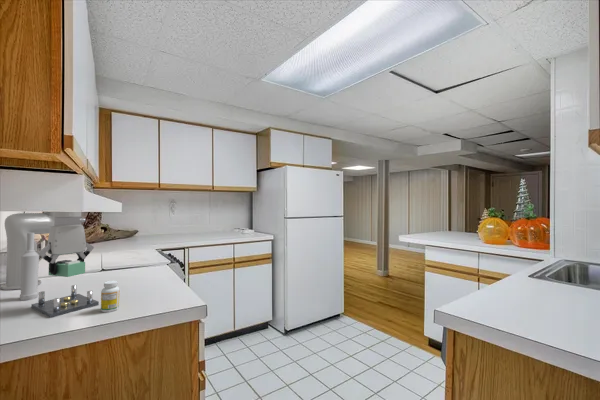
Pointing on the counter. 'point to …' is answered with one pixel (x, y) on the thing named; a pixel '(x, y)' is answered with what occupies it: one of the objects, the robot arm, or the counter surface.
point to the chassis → (64, 303)
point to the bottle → (29, 271)
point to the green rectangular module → (69, 268)
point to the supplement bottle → (110, 296)
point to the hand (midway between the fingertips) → (67, 271)
